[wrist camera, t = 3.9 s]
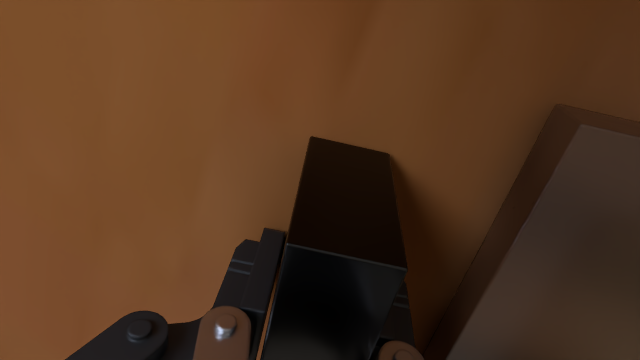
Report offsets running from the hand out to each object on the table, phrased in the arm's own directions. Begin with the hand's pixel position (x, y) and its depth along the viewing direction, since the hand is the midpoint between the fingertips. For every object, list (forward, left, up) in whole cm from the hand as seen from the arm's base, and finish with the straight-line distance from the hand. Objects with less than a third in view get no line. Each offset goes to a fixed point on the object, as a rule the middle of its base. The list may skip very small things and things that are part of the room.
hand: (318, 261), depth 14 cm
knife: (+6, 0, 0) cm, 6 cm away
